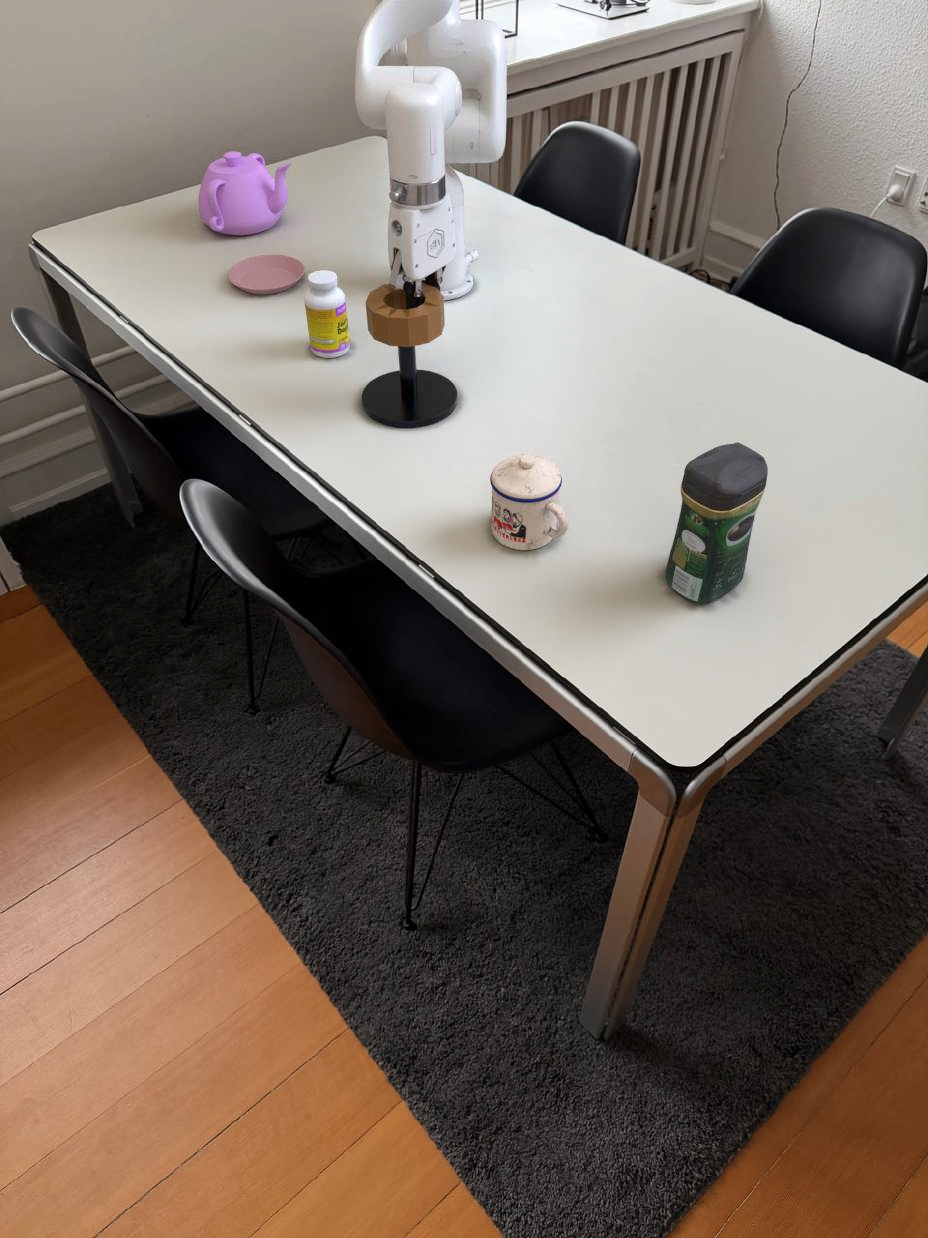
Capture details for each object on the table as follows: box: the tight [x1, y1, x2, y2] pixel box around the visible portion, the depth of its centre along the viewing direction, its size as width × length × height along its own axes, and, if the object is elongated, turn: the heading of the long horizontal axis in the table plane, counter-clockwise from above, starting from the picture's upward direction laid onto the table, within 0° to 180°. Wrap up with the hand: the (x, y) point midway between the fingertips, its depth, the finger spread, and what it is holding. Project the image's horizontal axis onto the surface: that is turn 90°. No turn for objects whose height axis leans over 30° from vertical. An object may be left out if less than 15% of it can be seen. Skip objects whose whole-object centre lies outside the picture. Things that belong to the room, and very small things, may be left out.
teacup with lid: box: [489, 454, 569, 551], centre depth 121 cm, size 12×9×12 cm
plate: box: [227, 254, 306, 296], centre depth 177 cm, size 14×14×2 cm
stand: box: [360, 346, 459, 429], centre depth 144 cm, size 15×15×13 cm
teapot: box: [197, 150, 292, 236], centre depth 191 cm, size 22×22×14 cm
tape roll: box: [365, 282, 446, 347], centre depth 138 cm, size 11×11×4 cm
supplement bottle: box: [303, 269, 351, 359], centre depth 155 cm, size 7×7×13 cm
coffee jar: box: [664, 441, 769, 604], centre depth 112 cm, size 10×8×19 cm
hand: (423, 311), depth 141 cm, fingers closed on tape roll, 3 cm apart
